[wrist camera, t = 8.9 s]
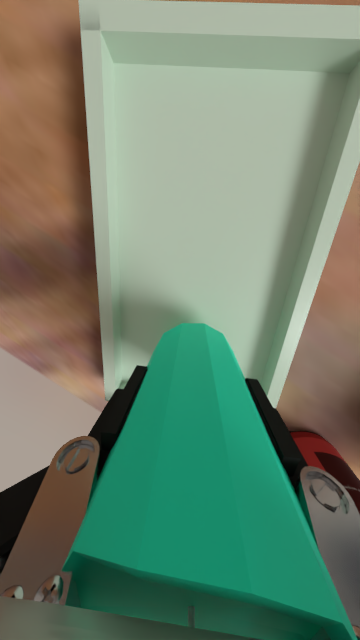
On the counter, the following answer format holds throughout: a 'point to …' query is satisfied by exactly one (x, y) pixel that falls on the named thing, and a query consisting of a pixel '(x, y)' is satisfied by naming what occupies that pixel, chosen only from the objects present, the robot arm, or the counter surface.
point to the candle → (202, 510)
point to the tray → (216, 170)
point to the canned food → (328, 461)
